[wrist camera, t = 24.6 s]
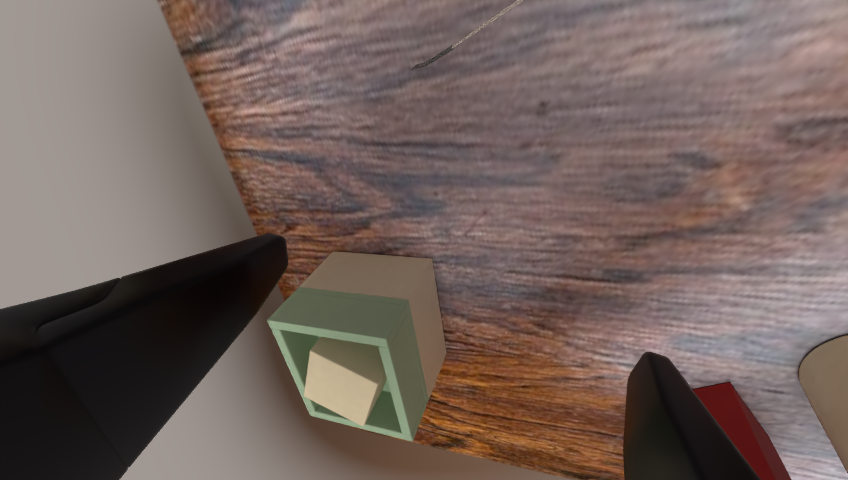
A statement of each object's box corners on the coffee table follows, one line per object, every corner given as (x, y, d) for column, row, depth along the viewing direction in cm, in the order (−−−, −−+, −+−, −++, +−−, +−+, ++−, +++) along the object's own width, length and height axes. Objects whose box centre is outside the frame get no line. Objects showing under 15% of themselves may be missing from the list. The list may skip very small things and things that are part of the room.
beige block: (384, 385, 25) (363, 427, 23) (329, 358, 26) (303, 396, 23) (400, 342, 22) (377, 384, 20) (338, 312, 23) (309, 351, 20)
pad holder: (333, 250, 27) (266, 320, 21) (432, 258, 24) (386, 339, 19) (359, 338, 31) (309, 415, 25) (447, 352, 28) (412, 442, 23)
